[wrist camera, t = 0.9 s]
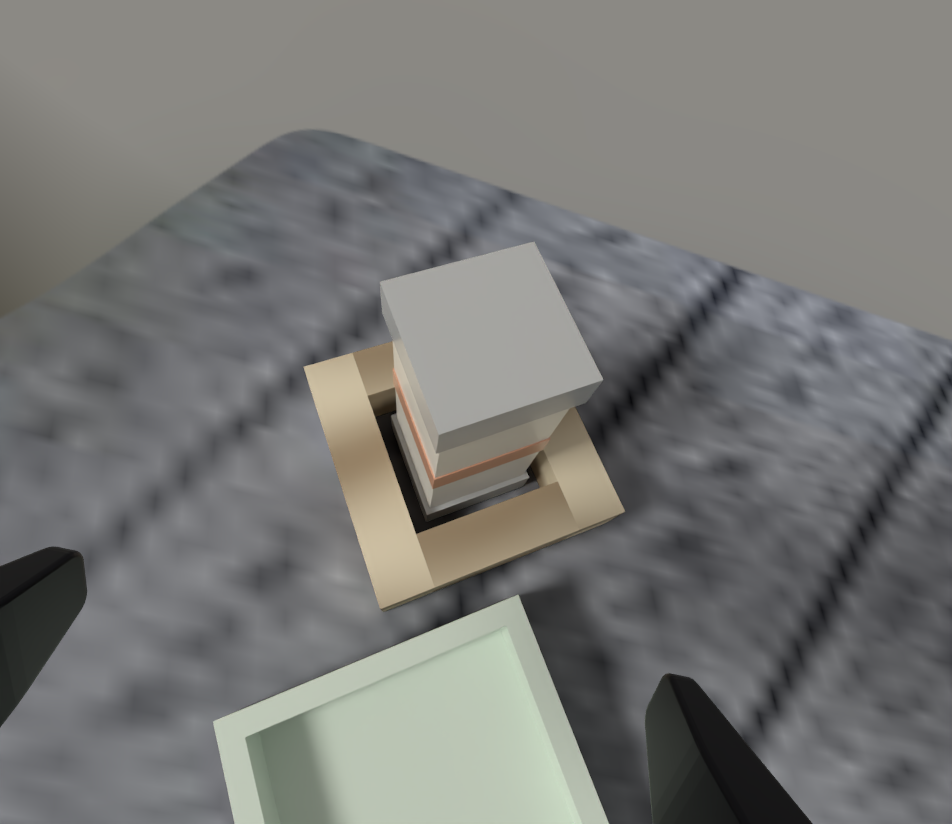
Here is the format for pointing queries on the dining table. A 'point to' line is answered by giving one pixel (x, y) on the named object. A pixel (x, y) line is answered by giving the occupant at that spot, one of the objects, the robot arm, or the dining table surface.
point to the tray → (416, 737)
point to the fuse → (481, 373)
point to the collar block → (464, 539)
